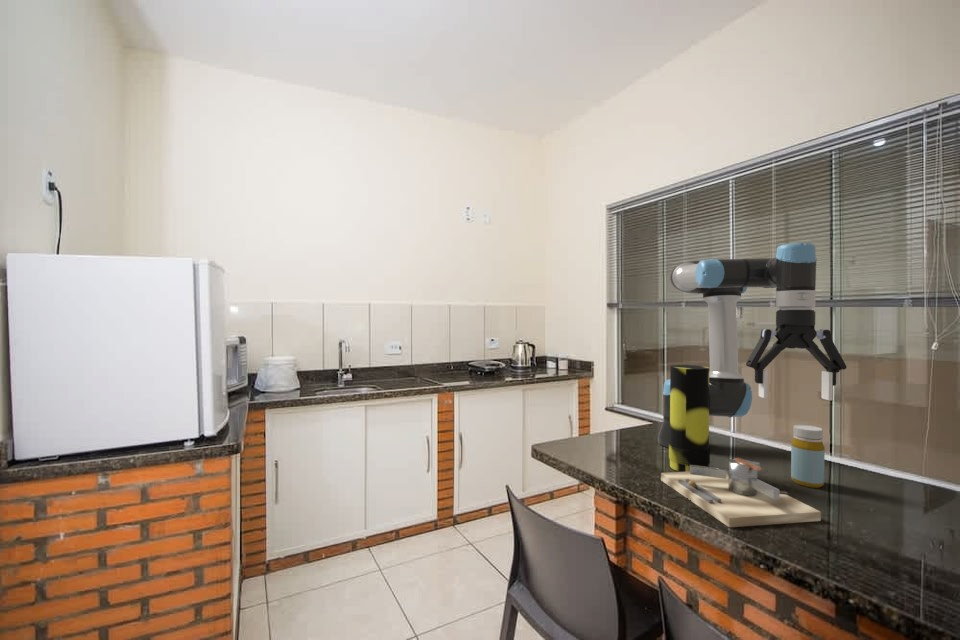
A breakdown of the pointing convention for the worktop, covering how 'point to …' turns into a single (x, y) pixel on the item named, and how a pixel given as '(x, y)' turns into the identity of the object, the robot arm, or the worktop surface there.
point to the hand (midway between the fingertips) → (794, 398)
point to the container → (689, 417)
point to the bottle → (807, 456)
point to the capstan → (739, 477)
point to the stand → (739, 502)
